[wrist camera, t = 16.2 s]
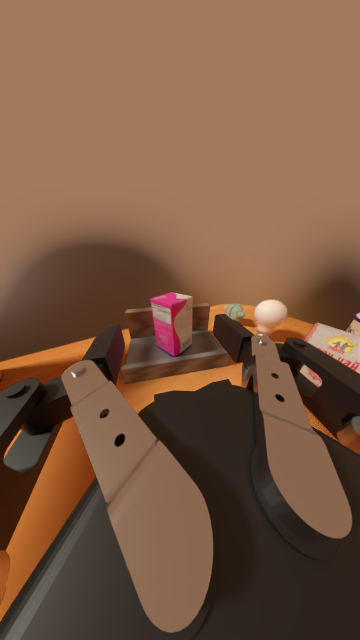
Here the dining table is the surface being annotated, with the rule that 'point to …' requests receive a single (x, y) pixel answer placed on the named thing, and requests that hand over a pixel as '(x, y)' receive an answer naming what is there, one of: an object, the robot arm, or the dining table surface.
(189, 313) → the supplement box
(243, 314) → the pale green triangular piece
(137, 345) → the cleat board
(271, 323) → the lightbulb
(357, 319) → the teacup with lid
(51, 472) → the dining table surface
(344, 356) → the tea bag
